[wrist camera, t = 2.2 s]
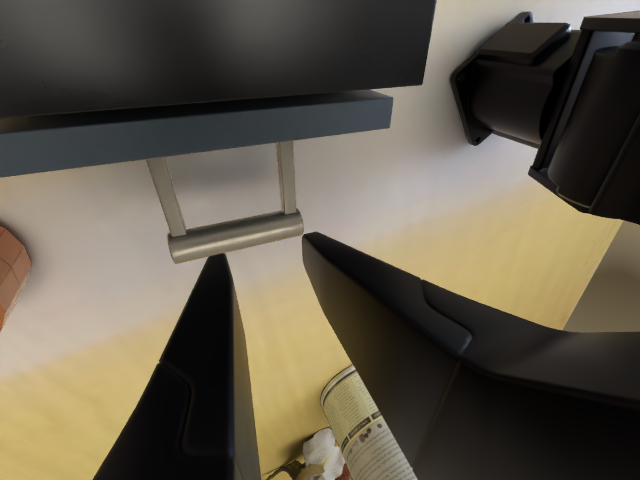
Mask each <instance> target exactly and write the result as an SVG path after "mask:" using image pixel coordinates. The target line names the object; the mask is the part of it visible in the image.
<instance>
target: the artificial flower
mask: <svg viewBox="0 0 640 480" xmlns="http://www.w3.org/2000/svg"><path fill="white" fill-rule="evenodd" d="M334 444H335V436H334V434H333V431H332V430H331V429H330V428H325V429H322V430H320V431H318V432H317V433H316V434H315V435H314V437H313V438H312V439H310V440H309V441H306V442H305V443H304V444H303V456H304V460H305V463H303V464H301V463H300V462H299V461H297V460H295V461H293V462H292V463H290V464H288V465H286V466H282V467H280V468H279V469H278V470H276V471H275V472H274V473H273V474H272V475H270V476H269V477H268V478H267V479H266V480H270V479H272V478H273V477H274V476H275V475H277V474H278V473H279V472H281V471H285V472H287V473H288V474H289V475H290V477H291V478H292V479H293V480H335V478H337V477H339V476H340V475H341V474H342V470H343V466H344V463H345V460H344V458H343V455H342V453H341V450H340V448H339V447H334Z"/></svg>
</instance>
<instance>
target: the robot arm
mask: <svg viewBox="0 0 640 480" xmlns="http://www.w3.org/2000/svg"><path fill="white" fill-rule="evenodd" d="M459 76H460V78H459ZM458 78H459V80H458ZM451 83H452V87H453V90H454V94H455V97H456V100H457V104H458V107H459V111H460V114H461V117H462V121H463V124H464V127H465V131H466V134H467V138H468V141H469V143H470V144H472V145H474V146H477V145H479V144H480V143H481V142H482V141H483V140H485V139H486V138H487V137H488V136H489V135H490V134H495V135H498V136H501V137H504V138H507V139H510V140H513V141H516V142H519V143H522V144H525V145H528V146H531V147H534V148H537V149H538V151H537V154H536V157H535V160H534V163H533V165H532V166H530V169H529V172H528V175H529V176H531V177H532V178H533V179H535V180H536V181H538V182H539V183H540V184H542V185H543V186H544V187H546V188H547V189H549V190H550V191H551V192H553V193H554V194H555V195H557V196H558V197H559V198H561V199H562V200H564V201H565V202H566V203H568V204H569V205H571V206H572V207H574V208H575V209H577V210H578V211H580V212H582V213H589V214H592V215H596V216H600V217H605V218H612V219H621V220H625V221H629V222H633V223H636V224H639V225H640V11H632V12H623V13H614V14H605V15H597V16H588V17H584V18H583V21H582V24H581V27H580V30H571V25H570V24H567V23H533V15H532V13H531V12H522V13H520V14H519V15H518V16H517V17H516V18H515V19H514V20H512V21H511V22H510V23H508V24H506V25H505V26H504V27H503V28H502V29H501V30H500V31H498V32H497V33H496V34H495V35H494V36H493V37H492V38H491V39H489V40H488V41H487V42H486V43H485V44H484V45H483V46H481V47H480V48H479V50H478V51H477V52H476V53H475V54H474V55H473V56H471V57H470V58H469V59H468V60H467V61H466V62H465V63H463V64H462V65H461V66H460V67H459V68H458V69H457V70H455V72H454V73H453V74H452V77H451ZM302 256H303V263H304V267H305V269H306V272H307V274H308V276H309V279H310V281H311V284H312V286H313V289H314V291H315V294H316V296H317V298H318V301H319V303H320V306H321V308H322V310H323V312H324V314H325V316H326V318H327V320H328V321H329V323H330V325H331V327H332V328H333V330H334V332H335V334H336V335H337V337H338V339H339V341H340V343H341V344H342V346H343V348H344V350H345V351H346V353H347V355H348V357H349V359H350V360H351V362H352V364H353V366H354V367H355V369H356V371H357V373H358V374H359V376H360V378H361V380H362V382H363V383H364V385H365V387H366V389H367V390H368V392H369V394H370V396H371V397H372V399H373V401H374V403H375V405H376V406H377V408H378V410H379V412H380V413H381V415H382V417H383V419H384V421H385V422H386V424H387V426H388V428H389V429H390V431H391V433H392V435H393V436H394V438H395V440H396V442H397V444H398V445H399V447H400V449H401V451H402V452H403V454H404V456H405V458H406V459H407V461H408V463H409V465H410V467H411V468H413V469H412V470H413V472H414V474H415V476H416V478H417V479H418V480H640V332H597V333H580V332H568V331H562V330H557V329H553V328H549V327H545V326H542V325H539V324H536V323H534V322H531V321H528V320H525V319H523V318H520V317H517V316H514V315H512V314H509V313H506V312H503V311H501V310H498V309H495V308H492V307H490V306H487V305H484V304H481V303H479V302H476V301H474V300H471V299H468V298H466V297H463V296H461V295H458V294H456V293H453V292H451V291H448V290H446V289H444V288H441V287H439V286H437V285H435V284H432V283H430V282H428V281H426V280H421V279H420V278H419V277H416V276H414V275H412V274H410V273H408V272H405V271H403V270H401V269H399V268H396V267H394V266H392V265H390V264H388V263H385V262H383V261H381V260H379V259H376V258H374V257H372V256H370V255H368V254H365V253H363V252H361V251H359V250H356V249H354V248H352V247H350V246H348V245H345V244H343V243H341V242H339V241H336V240H334V239H332V238H330V237H328V236H325V235H323V234H321V233H319V232H312V233H308V234H304V235H303V236H302ZM93 480H261V474H260V465H259V456H258V447H257V438H256V429H255V420H254V411H253V402H252V393H251V383H250V374H249V365H248V356H247V347H246V339H245V333H244V328H243V324H242V319H241V315H240V310H239V305H238V301H237V296H236V292H235V287H234V283H233V278H232V274H231V271H230V267H229V264H228V260H227V257H226V254H225V253H220V254H216V255H211V256H209V257H208V258H207V261H206V263H205V265H204V267H203V269H202V271H201V273H200V275H199V277H198V279H197V282H196V284H195V286H194V288H193V290H192V292H191V294H190V296H189V298H188V301H187V303H186V305H185V307H184V309H183V311H182V313H181V315H180V317H179V320H178V322H177V324H176V326H175V328H174V330H173V332H172V334H171V336H170V339H169V341H168V343H167V345H166V347H165V349H164V351H163V353H162V355H161V358H160V360H159V363H158V364H157V365H156V368H155V370H154V372H153V374H152V376H151V378H150V380H149V382H148V384H147V386H146V388H145V390H144V392H143V394H142V396H141V398H140V400H139V402H138V404H137V406H136V408H135V409H134V411H133V413H132V415H131V416H130V418H129V420H128V421H127V423H126V425H125V427H124V428H123V430H122V432H121V433H120V435H119V437H118V439H117V440H116V442H115V444H114V445H113V447H112V448H111V450H110V452H109V453H108V455H107V457H106V458H105V460H104V462H103V463H102V465H101V467H100V468H99V470H98V471H97V473H96V475H95V476H94V478H93Z"/></svg>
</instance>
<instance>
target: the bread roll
mask: <svg viewBox="0 0 640 480" xmlns="http://www.w3.org/2000/svg"><path fill="white" fill-rule="evenodd" d="M335 480H353V479H352V477H351V474H350V472H349V469H348V467H347V464H344V466H343V470H342V474H341V475H340V476H339V477H337V478H335Z"/></svg>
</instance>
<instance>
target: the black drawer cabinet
mask: <svg viewBox="0 0 640 480" xmlns="http://www.w3.org/2000/svg"><path fill="white" fill-rule="evenodd" d="M436 1H437V0H0V119H3V118H16V117H29V116H41V115H54V114H66V113H79V112H91V111H104V110H117V109H129V108H142V107H154V106H167V105H179V104H192V103H205V102H217V101H230V100H242V99H255V98H268V97H280V96H293V95H305V94H318V93H330V92H343V91H356V90H368V89H381V88H393V87H406V86H418V85H422V84H423V78H424V72H425V66H426V60H427V54H428V48H429V42H430V37H431V31H432V25H433V19H434V13H435V7H436Z"/></svg>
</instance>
